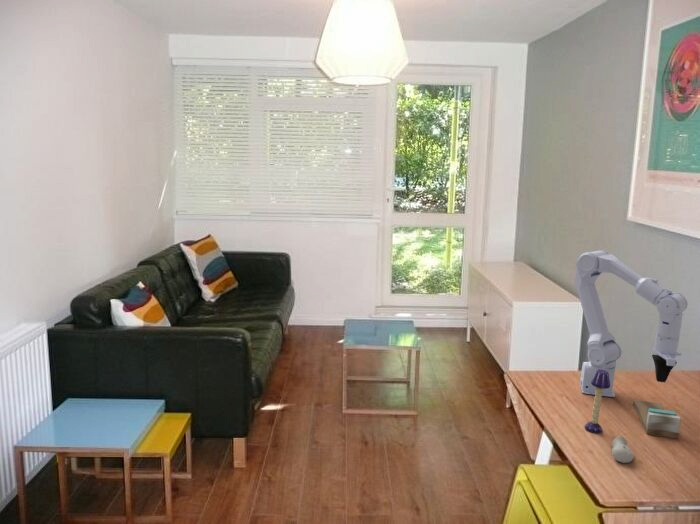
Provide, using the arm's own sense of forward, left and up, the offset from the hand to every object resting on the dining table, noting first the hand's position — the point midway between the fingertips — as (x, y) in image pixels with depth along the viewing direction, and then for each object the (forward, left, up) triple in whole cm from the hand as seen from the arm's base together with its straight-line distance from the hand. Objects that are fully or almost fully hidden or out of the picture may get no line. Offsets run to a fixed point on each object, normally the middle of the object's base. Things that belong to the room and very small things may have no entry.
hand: (660, 381), depth 167 cm
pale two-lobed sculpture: (-14, -31, -10) cm, 36 cm away
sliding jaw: (-2, -13, -8) cm, 15 cm away
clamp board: (-2, -6, -9) cm, 12 cm away
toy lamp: (-19, -18, -10) cm, 28 cm away
